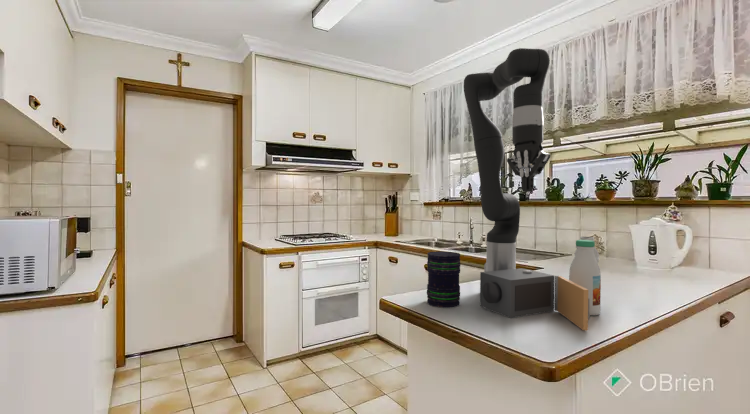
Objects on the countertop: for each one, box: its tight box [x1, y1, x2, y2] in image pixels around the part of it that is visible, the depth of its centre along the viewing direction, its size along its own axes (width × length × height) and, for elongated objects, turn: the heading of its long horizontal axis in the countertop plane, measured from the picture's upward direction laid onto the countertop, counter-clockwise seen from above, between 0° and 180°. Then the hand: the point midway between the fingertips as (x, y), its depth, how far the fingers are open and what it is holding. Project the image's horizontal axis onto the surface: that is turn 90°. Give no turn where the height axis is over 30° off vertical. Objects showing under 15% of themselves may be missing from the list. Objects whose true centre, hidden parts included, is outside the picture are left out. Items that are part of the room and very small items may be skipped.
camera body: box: [479, 267, 556, 319], centre depth 108 cm, size 18×12×11 cm
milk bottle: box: [568, 239, 602, 316], centre depth 105 cm, size 8×8×20 cm
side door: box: [554, 275, 590, 331], centre depth 97 cm, size 17×2×10 cm, turn 175°
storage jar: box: [426, 250, 461, 309], centre depth 113 cm, size 10×10×15 cm
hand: (527, 191), depth 100 cm, fingers closed
